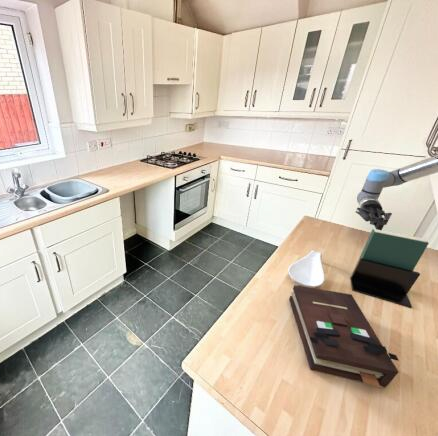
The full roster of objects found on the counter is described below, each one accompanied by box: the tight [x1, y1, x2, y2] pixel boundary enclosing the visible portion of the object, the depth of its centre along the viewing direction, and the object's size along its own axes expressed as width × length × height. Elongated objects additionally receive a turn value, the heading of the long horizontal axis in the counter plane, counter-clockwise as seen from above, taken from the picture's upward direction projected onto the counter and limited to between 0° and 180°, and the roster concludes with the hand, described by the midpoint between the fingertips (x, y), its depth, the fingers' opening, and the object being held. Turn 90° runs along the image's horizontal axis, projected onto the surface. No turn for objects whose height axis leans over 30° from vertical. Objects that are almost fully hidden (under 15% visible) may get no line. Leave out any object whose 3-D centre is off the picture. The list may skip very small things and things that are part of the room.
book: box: [356, 228, 429, 271], centre depth 88 cm, size 14×20×3 cm
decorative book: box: [288, 284, 400, 388], centre depth 71 cm, size 19×8×30 cm
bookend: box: [349, 257, 421, 309], centre depth 86 cm, size 16×8×10 cm, turn 59°
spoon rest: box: [287, 249, 325, 289], centre depth 96 cm, size 24×12×7 cm, turn 138°
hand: (380, 227), depth 101 cm, fingers closed
